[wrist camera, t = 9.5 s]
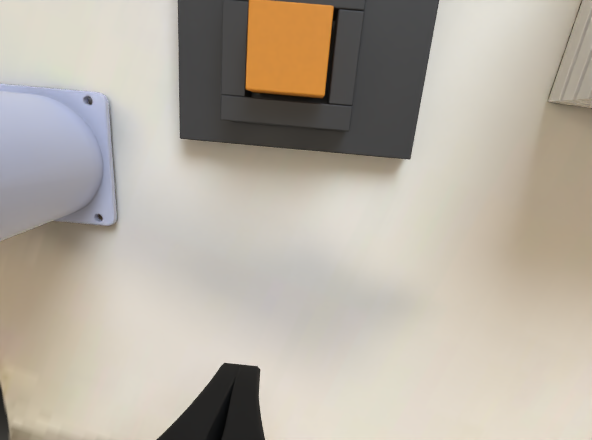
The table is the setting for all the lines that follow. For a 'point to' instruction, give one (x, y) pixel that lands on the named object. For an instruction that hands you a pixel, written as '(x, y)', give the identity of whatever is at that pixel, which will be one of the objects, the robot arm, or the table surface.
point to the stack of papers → (576, 63)
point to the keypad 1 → (339, 83)
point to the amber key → (288, 48)
